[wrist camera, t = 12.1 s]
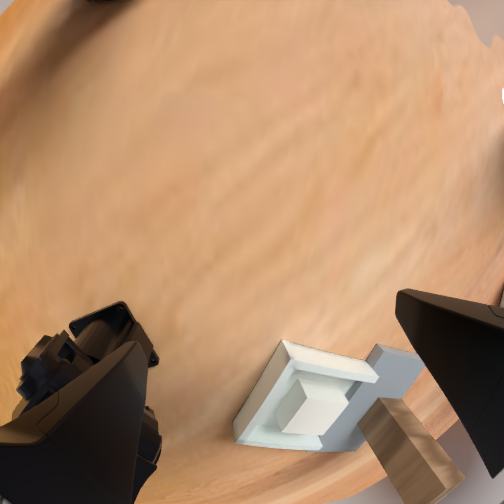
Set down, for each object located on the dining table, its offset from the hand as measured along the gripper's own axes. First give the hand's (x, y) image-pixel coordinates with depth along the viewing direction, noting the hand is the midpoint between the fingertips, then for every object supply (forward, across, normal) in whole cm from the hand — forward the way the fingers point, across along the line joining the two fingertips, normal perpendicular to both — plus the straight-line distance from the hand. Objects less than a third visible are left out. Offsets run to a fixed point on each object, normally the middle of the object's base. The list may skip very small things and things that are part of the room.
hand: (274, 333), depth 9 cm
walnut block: (+11, -12, +24) cm, 29 cm away
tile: (+12, -3, +18) cm, 22 cm away
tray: (+12, -3, +17) cm, 21 cm away
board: (+13, -10, +22) cm, 28 cm away
